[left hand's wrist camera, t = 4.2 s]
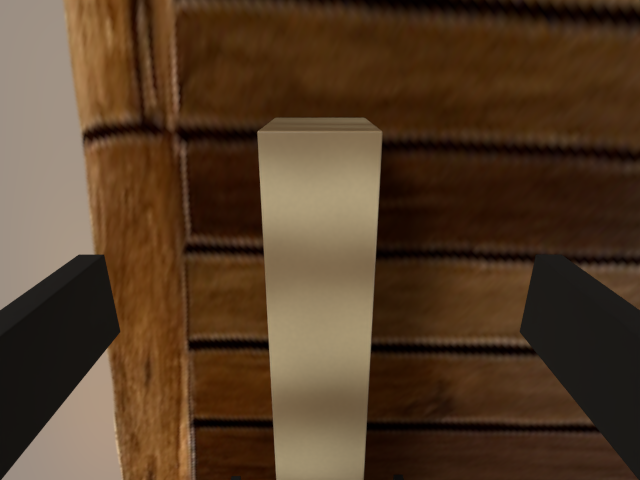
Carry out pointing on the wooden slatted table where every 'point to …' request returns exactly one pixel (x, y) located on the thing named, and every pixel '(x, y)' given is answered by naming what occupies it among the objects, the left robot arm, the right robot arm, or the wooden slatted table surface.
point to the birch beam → (320, 288)
